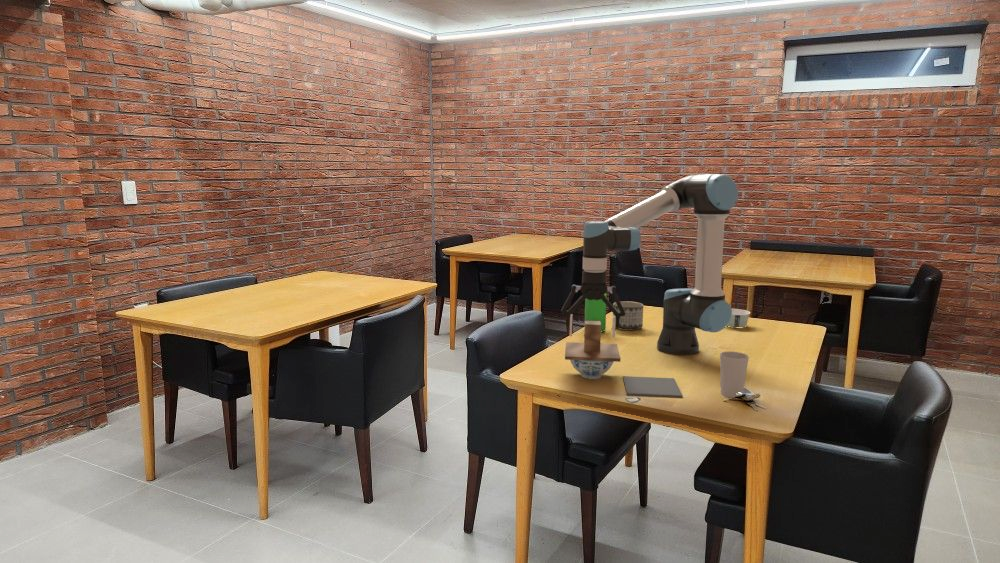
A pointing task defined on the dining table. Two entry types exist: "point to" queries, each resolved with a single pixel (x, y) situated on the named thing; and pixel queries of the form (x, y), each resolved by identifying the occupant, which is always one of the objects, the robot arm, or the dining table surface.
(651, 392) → the mat
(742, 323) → the food container
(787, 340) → the dining table surface
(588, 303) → the bottle
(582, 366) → the chinaware
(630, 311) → the planter
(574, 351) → the lid
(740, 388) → the cup
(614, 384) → the dining table surface
